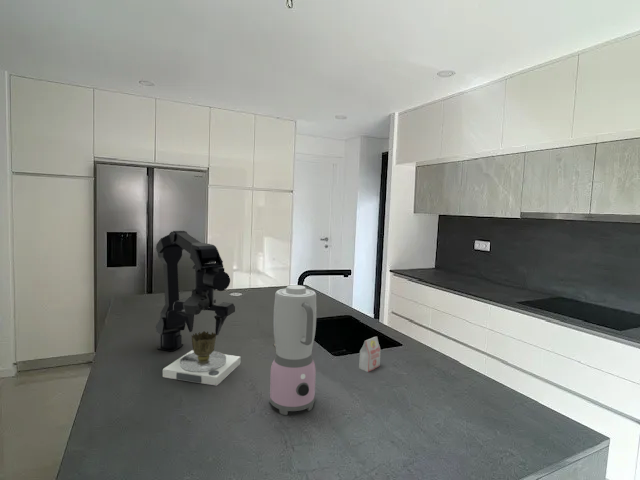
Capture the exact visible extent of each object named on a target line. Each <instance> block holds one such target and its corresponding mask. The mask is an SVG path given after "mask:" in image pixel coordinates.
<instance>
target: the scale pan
mask: <svg viewBox="0 0 640 480" xmlns="http://www.w3.org/2000/svg"><path fill="white" fill-rule="evenodd" d="M224 354H225V353H223V352H220V351H215V350H213V352H212V353H211V354H210V355H209V356H210V357H209V359H208V360H206V361H200V360H198V358H197V357H198V356H197V355H196V354H195V353H191V354H188V355H186V356H184V355H183V356H184V357H183V358H182V359H181V360H180V367H181V368H182V369H184V370H186V371H190V372H207V371H212V370H216V369H218V368H220V367H222V366H223V365H224V364H225V363H226V356H225V355H226V354H225V355H224Z"/></svg>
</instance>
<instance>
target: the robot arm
mask: <svg viewBox="0 0 640 480" xmlns="http://www.w3.org/2000/svg"><path fill="white" fill-rule="evenodd" d="M155 246H156V247H155V249H156V253H157V258H158V259H159V260H160V262H161V264H162V265H163V287H164V289H163V290H164V306H163V308H162V309H161V311H160V317H159V319H158V321H157V323H156V325H155V331H156V333H158V334H160V335H159V337H160V341H159V342H160V344H159V345H160V346H158V347H157V350H161V351H167V352H168V351H169V352H175V351H176V350H178V349H179V348H181V347H183V346H184V343H183V342H182V334H181V332H182V331H185V328H187V329H188V331H189V333H192V332H193V330H194V323H195V320H194V319H195V316H196V315H199V314H201V312H202V311H210V312H211V311H213V312H214V314H215V315H214V316H213V318H214V319H215V328H214V329H215V332H214V333H215V334H216V336H219V334H220V332H221V330H222V327H223V325H224V322H225V321H226V319H227V317H228V316H230V315H233V314H234V313H235V312H236V306H235V304H234V303H233V302H221V303H219V304H216V302H217V300H216V299H215V291H219V292H224V291H225V290H227V288H228V287H229V286H230V284H231V277H230V275H229V273H227V272H225V267H224V264H223V262H224V260H223V259H222V257H221V255H220V252H219V249H218V248H217V246H215V245H214V244H212V243H208V242H207V243H205V242H201V241H200V240H198V239H196V238H195V237H193V236H192V235H190V234H189V233H188V232H187V231H186V230H173V231H170V232H169V234H166V235H165V236H163V237H161V238H160V239H159V241H158V242H157V243H156V245H155ZM183 251H186V252H187V253H189V259H190V260H191V261H192V262H193V264H194V265H193V266H192V270H194V288H193V289H192V291H191V294H190V295H191V296H189V297H187V298H185V297H183V298H180V288H179V287H180V285H179V262H180V261H181V259H182V257H183ZM186 326H187V327H186Z"/></svg>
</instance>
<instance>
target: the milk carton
mask: <svg viewBox="0 0 640 480" xmlns="http://www.w3.org/2000/svg"><path fill="white" fill-rule="evenodd" d="M381 352H382V351H381V346H380V344H379V339H378V336H373V337H371V338H368V339H366V340H364V342H363V345H362V347H361V348H360V350H359V359H358V360H359V361H358V363H359V364H358V369H359V370H362V371H364V372H366V373H369V372H371V371H374V370H375V369H377V368H379V367H380V365H381Z"/></svg>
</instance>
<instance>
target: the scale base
mask: <svg viewBox="0 0 640 480" xmlns="http://www.w3.org/2000/svg"><path fill="white" fill-rule="evenodd" d="M191 353H194V351H193V349H191V350H190V351H188V352H187V353H185V354H184V355H181V356H180V357H179V358H178V359H176V360H174V361H172V363H170V364H168V365H167V366H165V367H164V368H163V369H162V378H166V379H172V380H179V381H186V382H191V383H197V384H203V385H211V386H218V385H219V384H220V383H222V382H223V380H225V379H226V378H227V377H228V376H229V375H230V374H232V372H233V371H235V369H237V368H238V367H240V365H241V359H242V358H241V357H242V356H241V355H240V356H239V355H232V354H226V353H223V354H224V355H225V356H226V363H225V364H224V365H223V366H222V367H220V368H218V369H216V370H212V371H207V372H190V371H186V370H184V369H182V368H181V367H180V360H181V359H182V358H183V357H184V356H186V355H188V354H191Z"/></svg>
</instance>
